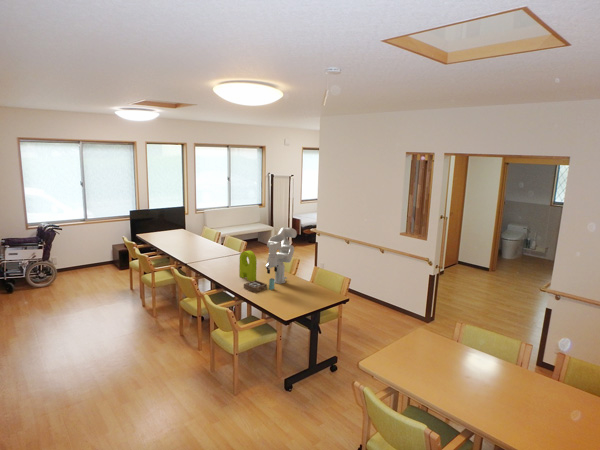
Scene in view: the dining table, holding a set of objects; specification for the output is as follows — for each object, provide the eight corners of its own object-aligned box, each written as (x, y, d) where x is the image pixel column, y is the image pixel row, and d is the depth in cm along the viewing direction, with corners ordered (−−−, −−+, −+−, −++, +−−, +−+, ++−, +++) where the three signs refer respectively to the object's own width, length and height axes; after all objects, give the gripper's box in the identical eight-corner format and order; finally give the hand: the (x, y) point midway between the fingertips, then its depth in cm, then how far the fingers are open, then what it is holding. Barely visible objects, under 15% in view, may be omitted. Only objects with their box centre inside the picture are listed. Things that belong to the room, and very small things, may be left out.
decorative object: (256, 280, 396) (256, 252, 390) (251, 281, 391) (251, 253, 386) (244, 275, 409) (244, 248, 404) (239, 276, 404) (239, 249, 399)
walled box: (255, 284, 383) (256, 280, 382) (266, 288, 372) (266, 284, 371) (243, 288, 371) (243, 283, 370) (254, 292, 360) (254, 288, 360)
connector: (271, 288, 374) (272, 277, 372) (274, 289, 372) (274, 278, 370) (269, 288, 372) (269, 278, 370) (271, 289, 369) (271, 279, 367)
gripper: (276, 253, 374) (275, 270, 377) (263, 256, 362) (262, 273, 364) (281, 255, 369) (280, 271, 372) (268, 257, 357) (268, 275, 360)
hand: (272, 272), depth 368 cm, fingers open, 9 cm apart
